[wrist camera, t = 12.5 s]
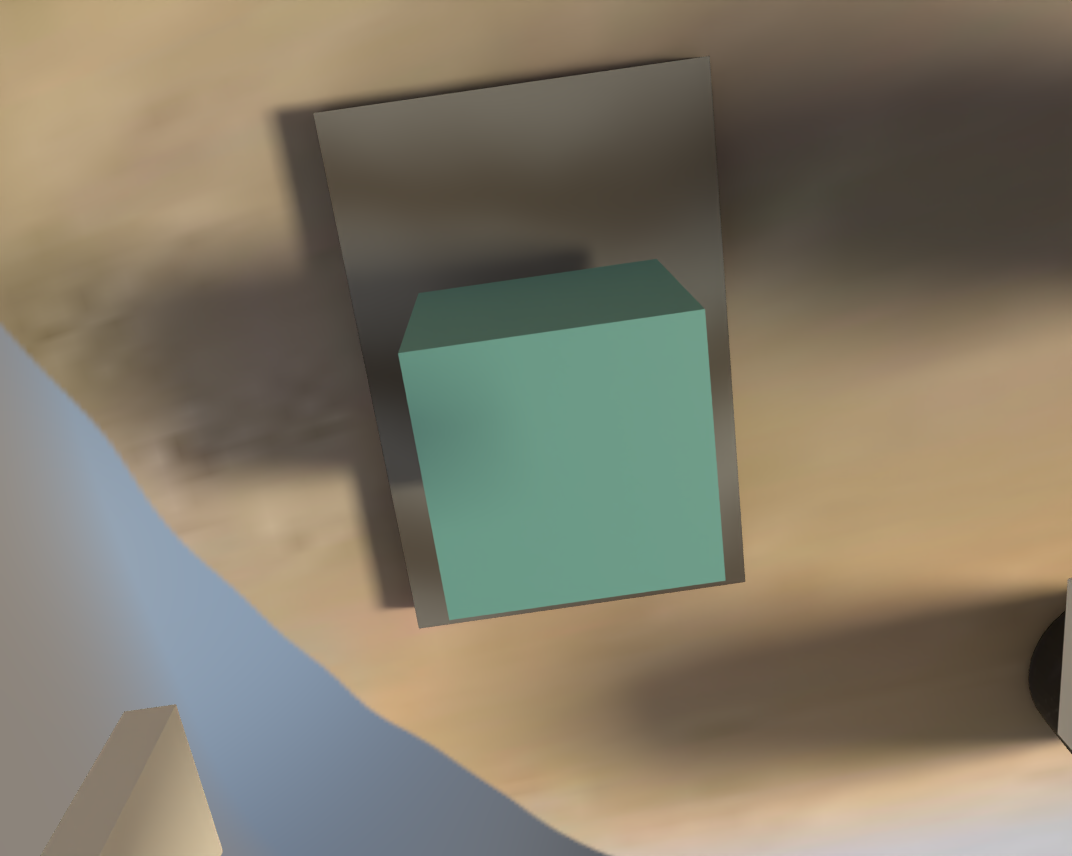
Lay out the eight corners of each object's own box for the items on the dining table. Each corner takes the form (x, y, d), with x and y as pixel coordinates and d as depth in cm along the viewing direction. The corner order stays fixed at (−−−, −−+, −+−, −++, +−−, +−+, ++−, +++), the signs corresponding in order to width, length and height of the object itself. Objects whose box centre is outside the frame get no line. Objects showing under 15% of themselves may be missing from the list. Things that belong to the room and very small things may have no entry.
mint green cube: (418, 293, 28) (398, 353, 22) (656, 258, 28) (705, 309, 22) (457, 509, 31) (449, 620, 25) (676, 478, 31) (725, 580, 25)
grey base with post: (321, 111, 30) (250, 123, 21) (699, 57, 30) (788, 45, 21) (421, 607, 36) (399, 779, 27) (735, 562, 36) (815, 719, 27)
